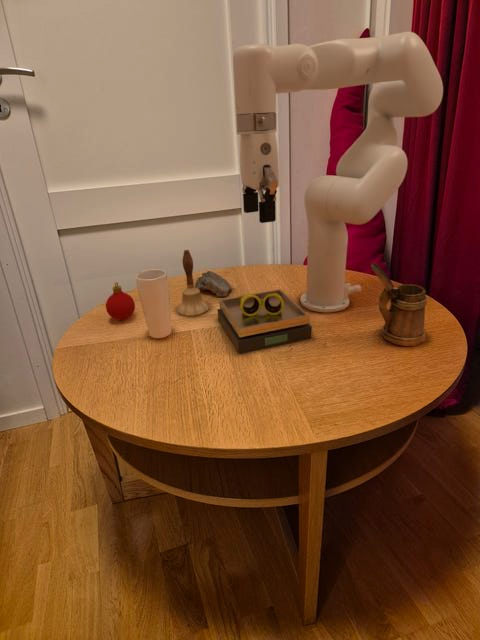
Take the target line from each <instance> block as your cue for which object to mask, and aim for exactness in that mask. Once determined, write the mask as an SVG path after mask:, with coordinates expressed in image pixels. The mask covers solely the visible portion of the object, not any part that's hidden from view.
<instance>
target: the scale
mask: <svg viewBox="0 0 480 640" xmlns="http://www.w3.org/2000/svg"><path fill="white" fill-rule="evenodd" d="M217 320H218V323H219V324H220V325H221V327H222V328H223V330H224V332H225V334H226V336H227V337H228V339H229V340H230V342H231V343H232V345H233V347H234V348H235V350H236V352H237V353H238V355H240V354H245V353H249V352H254V351H259V350H263V349H268V348H272V347H277V346H281V345H286V344H287V345H288V344H291V343H296V342H301V341H305V340H309V339H312V333H313V332H312V331H313V329H312V327H313V326H312V325H311V324H310V323H309V324H304V325H299V326H294V327H289V328H284V329H279V330H274V331H269V332H264V333H259V334H254V335H250V336H245V337H239V336H238V335H237V333H236V331H235V330H234V328H233V327H232V325H231V324H230V322H229V321H228V319H227V318H226V316H225V315H224V313H223V312H222V310H221V309H220V308H217Z"/></svg>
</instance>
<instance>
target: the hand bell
mask: <svg viewBox="0 0 480 640" xmlns="http://www.w3.org/2000/svg"><path fill="white" fill-rule="evenodd" d="M182 267H183V270H184V273H185V276H186V277H185V278H186V288H185V289H183V290H182V298H181V299H182V300H181V303H180V305H179V306H178V307H177V313H178V314H179V315H181V316H185V317H195V316H201V315H203V314H205V313H206V312H208V311H209V310H210V306H209V304H208V303H207V302H205V300H204V299H203V297H202V294H201V290H199V289H198V288H195V283H194V277H193V271H194V260H193V257H192V255H191V252H190V250H189V249H184V250H183V255H182Z"/></svg>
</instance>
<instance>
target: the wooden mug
mask: <svg viewBox="0 0 480 640" xmlns="http://www.w3.org/2000/svg"><path fill="white" fill-rule="evenodd" d="M370 267H371V269H372V271H373V273H374V275H376V277H377V278H378V279H379V281H380V282H381V283H382V285H383V286H384V289H383V290H382V292H381V293H380V296H379V299H378V310H379V312H380V315H381V316H382V318H383V320H384V324H383V326H382V328H381V336H382V337H383V339H385V340H386V341H387V342H388V343H391V344H393V345H396V346H400V347H416V346H418V345H421V344H423V343H425V341H426V338H427V337H426V330H425V329H426V328H425V321H426V320H425V315H426V312H425V311H426V306H427V304H428V301H427V298H428V297H427V296H426V288H424V287H423V286H421V285H417V284H410V283H407V284H406V283H405V284H400V285H397V286H396V287H394V284H393V282H392V280H391V279H390V277H389V276H388V275H387V274H386V272H385V271H384V270H383V269H382V268H381V267H380V266H379V265H378V264H377V263H375V262H371V264H370ZM389 302H390V305H389V309H388V304H389Z"/></svg>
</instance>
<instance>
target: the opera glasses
mask: <svg viewBox="0 0 480 640" xmlns="http://www.w3.org/2000/svg"><path fill="white" fill-rule="evenodd" d="M252 294H253V293H251V295H250V293H249V294H248V293H247V294H244V295H242V296H243V297H242V299H241V304H240V308H241V311H242V313H243V314H244V315H246V316H254V315H256V314H257V313H258V312H259V311H260V309H261V305H263V308H264V310H265V312H267V313H268V314H270V315H277V314H279V313H281V312H282V310H283V308H284V302H283V299H282V298H281V296H280V295H279V294H277V293H272V294H268V295H267V296H265V298H264V299H263V300H260V299H259V298H258V297H257V296H256V295H252ZM271 296H275V297H277V298H278V299H279V300H280V303H279V305H277V306H272V305H271V304H270V303H269V298H270V297H271ZM249 297H252V298H253V300H254V303H253V305H252V306H251V307H245V306H244V305H243V303H244V301H245V300H246V299H247V298H249ZM266 309H267V310H266Z"/></svg>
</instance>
